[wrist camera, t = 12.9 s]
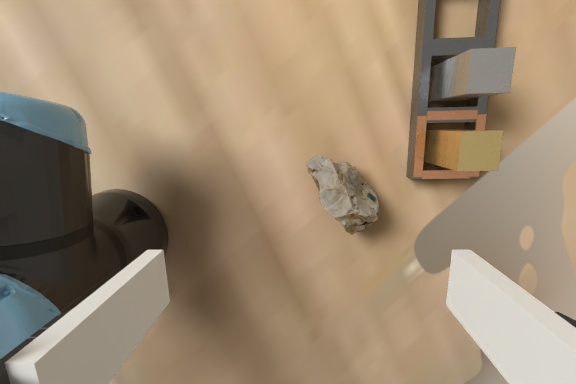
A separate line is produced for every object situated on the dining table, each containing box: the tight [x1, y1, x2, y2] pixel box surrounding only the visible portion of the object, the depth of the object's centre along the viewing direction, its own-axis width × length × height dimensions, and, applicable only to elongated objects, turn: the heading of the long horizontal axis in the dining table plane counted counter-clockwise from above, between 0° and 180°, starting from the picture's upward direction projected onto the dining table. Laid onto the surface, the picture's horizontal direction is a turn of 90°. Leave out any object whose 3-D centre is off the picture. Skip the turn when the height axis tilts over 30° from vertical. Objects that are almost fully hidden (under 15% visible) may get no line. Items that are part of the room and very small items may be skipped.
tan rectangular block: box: [424, 130, 504, 171], centre depth 37 cm, size 4×4×10 cm
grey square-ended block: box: [428, 47, 516, 101], centre depth 35 cm, size 4×4×10 cm
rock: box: [306, 156, 379, 235], centre depth 41 cm, size 12×7×10 cm, turn 31°
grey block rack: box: [407, 0, 500, 179], centre depth 39 cm, size 9×26×3 cm, turn 1°
